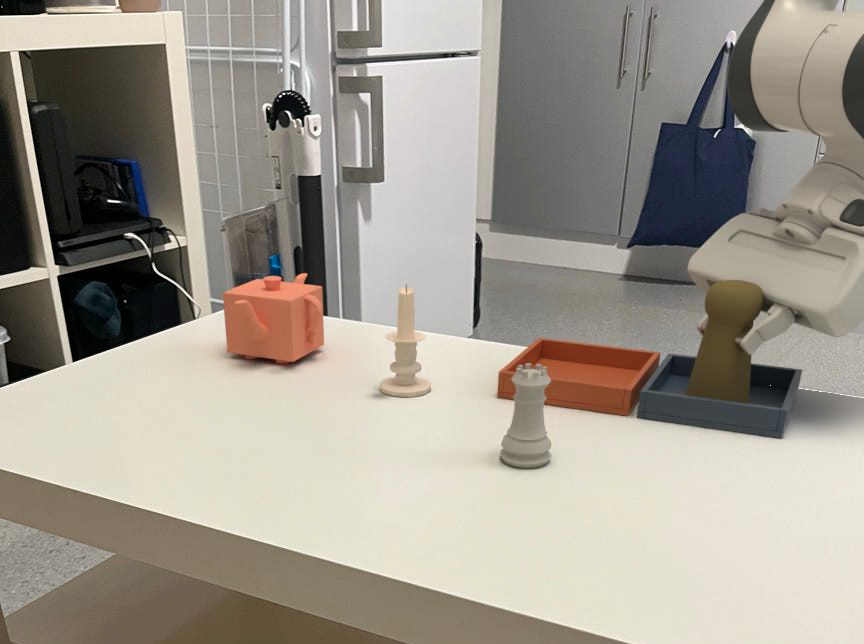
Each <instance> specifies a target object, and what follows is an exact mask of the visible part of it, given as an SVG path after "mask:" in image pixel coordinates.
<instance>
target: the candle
mask: <svg viewBox="0 0 864 644" xmlns="http://www.w3.org/2000/svg"><path fill="white" fill-rule="evenodd" d="M397 297H398V299H397V331H392V332H389V333H387V334H386V339H387V340H389V341H391V342H394V346H395V350H394V359H395V361H393V362H391V363H390V364H389V370H390V371H391V372H392V373H394V374H395V376H390V377H387V378H385V379H383V380H382V381H380V383H379V389H380V392H382V393H383V394H385V395H388V396H391V397H397V398H415V397H420V396H423V395H426V394H428V393H430V392H431V388H432V383H431V382H430V381H429V380H428V379H427V378H423V377H419V376H416V374H417V373H419V372H421V371H422V364H421V363H420V362H418V361H417V355H418V350H417V347H418V346H417V345H418V343H419V342H421V341H423V340H425V339H426V335H425V334H424V333H423V332H419V331H415V290H414V288H412V287H408V284H407V283H406V284H405V286H404V287H401V288H399V290H398V296H397Z"/></svg>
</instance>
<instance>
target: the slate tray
mask: <svg viewBox="0 0 864 644" xmlns="http://www.w3.org/2000/svg"><path fill="white" fill-rule="evenodd" d="M696 357H697V356H693V355H685V354H677V353H668V354H667V355H666V356H665V358H664V359H663V360H662V362H661V363H659V367H658V368H657V370H656V371H655V372H654V374H653V375H652V376H651V378H650V379H649V380H648V382H647V383H646V384H645V386H644V387H643V388H642V390H641V391H640V396H639V402H638V403H637V412H636V418H638V419H643V420H644V419H645V420H653V421H659V422H666V423H672V424H678V425H679V424H680V425H686V426H694V427H699V428H700V427H701V428H706V429H707V428H708V429H713V430H714V429H715V430H721V431H728V432H733V433H742V434H748V435H754V436H755V435H756V436H763V437H768V438H769V437H770V438H777V439H783V435H784V433H785V430H786V427H787V425H788V421H789V419H790V416H791V414H792V410H793V407H794V404H795V402H796V398H797V396H798V393H799V387H800V383H801V378H802V374H803V373H802V372H803V369H802V368H801V369H800V368H794V367H785V366H776V365H769V364H761V363H752V362H751V372H750V389H749V402H748V404H747V403H740V402H733V401H725V400H718V399H710V398H703V397H695V396H688V395H685V393H686V390H687V387H688V383H689V380H690V377H691V374H692V370H693V367H694V364H695V360H696ZM770 385H771V386H770Z"/></svg>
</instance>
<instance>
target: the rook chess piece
mask: <svg viewBox="0 0 864 644" xmlns="http://www.w3.org/2000/svg"><path fill="white" fill-rule="evenodd" d="M511 380H512V382H513V383H514V385H515V386H516V393H515V394H514V396H513V398H514V400H513V401H514V409H513V414H512V418H511V423H510V426H509V428H508V429H507V430H506V434H505V435H503V438H502V440H501V442H500V445H501V447H502V449H500V452H499V455H500V457H501V459H502V460H503V462H504V463H505V464H507V465H509V466H511V467H515V468H520V469H535V468H539V467H543V466H544V465H546V464H547V463H548V462H549V461H550V459H551V457H552V453H551V452H550V450H551V448H552V441H551V439H550V438H549V436H548V431H547V430H546V427H545V416H544V409H545V408H544V405H545V404H544V402H545V400H546V399H547V397H546V396H545V394H544V390H545V388H546V387H547V386H548V384H549V383H550V382H551V379H550V378H549V376H548V375H547V367H543V369H542V365H539V364H536V369H531V364H525V369H524V370H523V365H519V366H517V369H516V373H515V375H514V376H513V377H512V379H511Z"/></svg>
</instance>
